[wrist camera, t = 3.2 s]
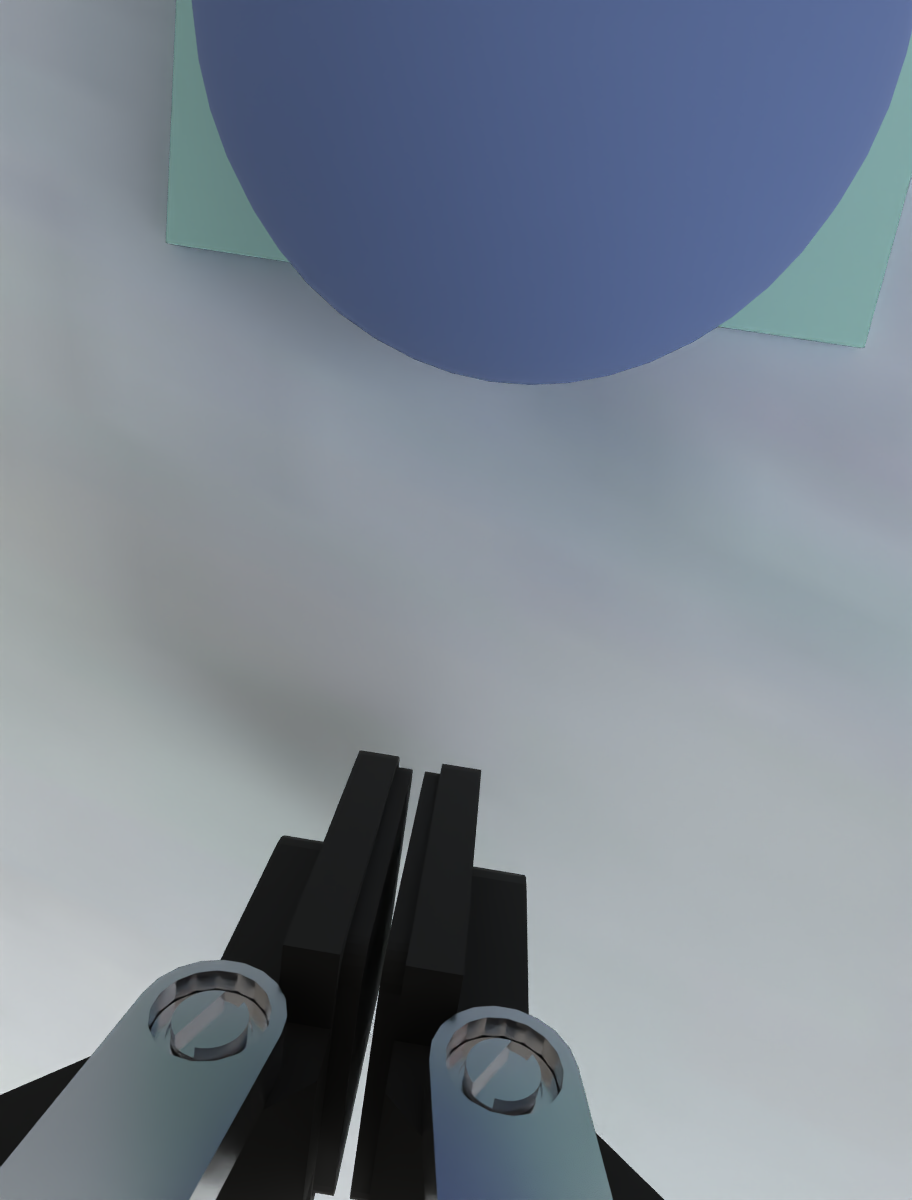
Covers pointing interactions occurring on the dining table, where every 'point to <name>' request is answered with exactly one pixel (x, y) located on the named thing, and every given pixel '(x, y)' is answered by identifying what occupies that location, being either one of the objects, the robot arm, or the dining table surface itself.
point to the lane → (786, 308)
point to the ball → (546, 161)
